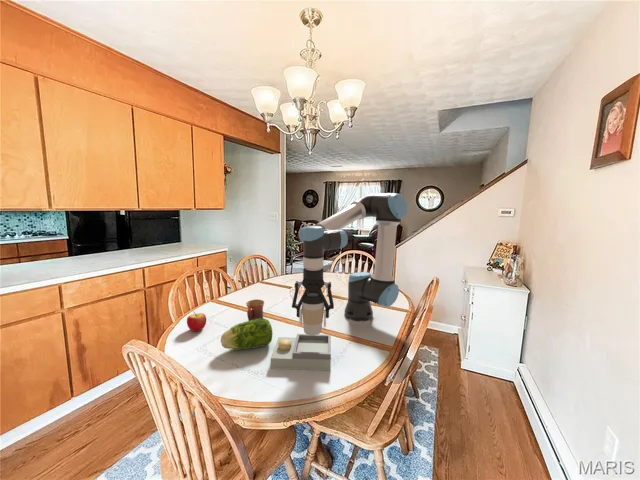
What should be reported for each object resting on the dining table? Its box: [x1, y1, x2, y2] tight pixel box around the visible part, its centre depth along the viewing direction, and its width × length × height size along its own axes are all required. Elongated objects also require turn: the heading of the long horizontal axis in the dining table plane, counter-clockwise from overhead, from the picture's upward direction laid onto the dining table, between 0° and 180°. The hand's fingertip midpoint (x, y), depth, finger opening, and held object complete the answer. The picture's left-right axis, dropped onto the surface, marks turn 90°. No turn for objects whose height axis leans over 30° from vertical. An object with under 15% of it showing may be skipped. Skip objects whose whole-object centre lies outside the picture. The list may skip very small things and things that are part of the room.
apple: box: [186, 311, 207, 332], centre depth 124 cm, size 8×8×10 cm
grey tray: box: [270, 333, 332, 371], centre depth 104 cm, size 22×15×6 cm
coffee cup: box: [301, 292, 325, 335], centre depth 101 cm, size 9×9×15 cm
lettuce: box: [220, 317, 274, 351], centre depth 110 cm, size 12×21×11 cm, turn 117°
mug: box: [245, 298, 265, 321], centre depth 131 cm, size 12×9×10 cm
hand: (312, 325), depth 102 cm, fingers closed on coffee cup, 8 cm apart
